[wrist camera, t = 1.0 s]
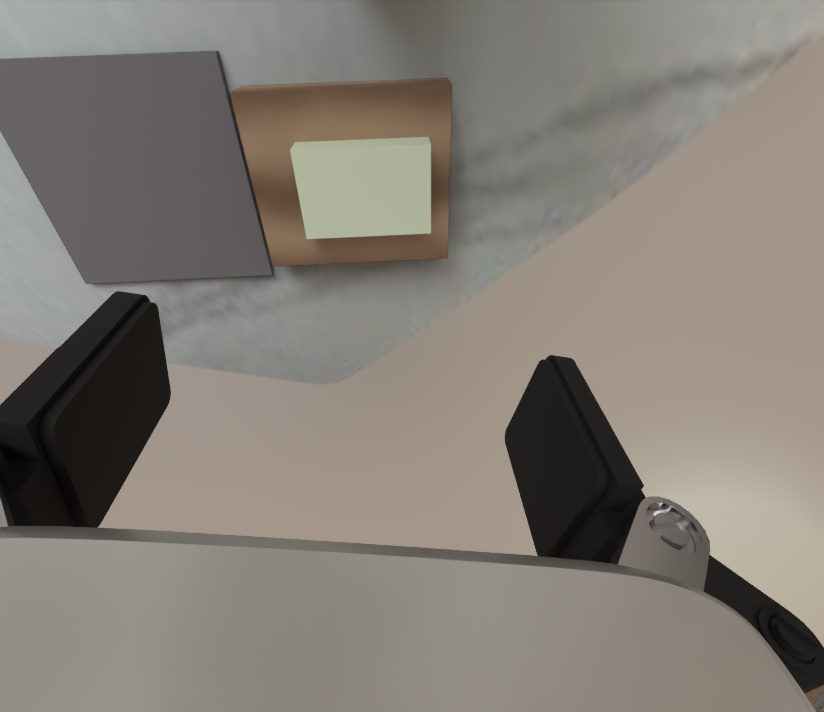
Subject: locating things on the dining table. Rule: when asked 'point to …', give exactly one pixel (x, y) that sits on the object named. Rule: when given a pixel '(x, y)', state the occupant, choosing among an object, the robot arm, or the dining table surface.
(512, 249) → the dining table surface
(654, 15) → the dining table surface
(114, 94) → the mat
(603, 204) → the dining table surface
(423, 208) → the pale green block
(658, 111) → the dining table surface
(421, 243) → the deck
